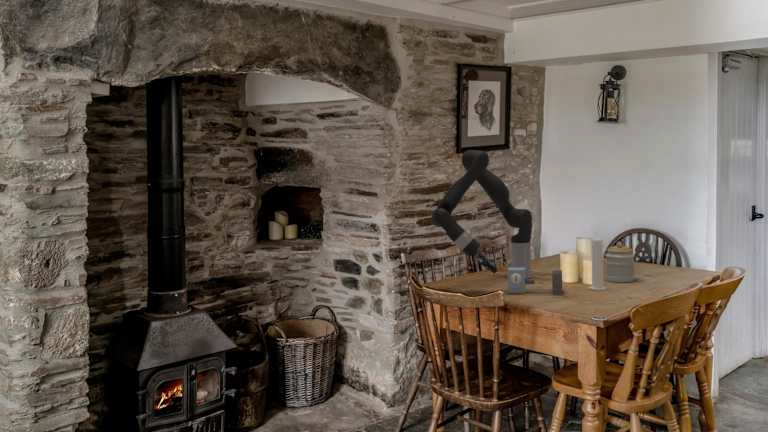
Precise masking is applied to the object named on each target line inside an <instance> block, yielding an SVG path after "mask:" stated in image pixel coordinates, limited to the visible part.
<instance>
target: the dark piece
mask: <svg viewBox="0 0 768 432" xmlns="http://www.w3.org/2000/svg"><path fill="white" fill-rule="evenodd" d="M551 277H552V281H551V282H552V283H551V285H552V287H551V288H552V289H545V288H543V289H542V288H541V289H535V288H534V289H532V288H531V289H529V288H525V289H526V290H525V293H508V288H501V289H500V288H499V290H503V291H504V295H503V296H552V297H553V296H562V297H565V296H566V292H565V289H563V270H562V269H552V272H551ZM499 290H498V291H499Z"/></svg>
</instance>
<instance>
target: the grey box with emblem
mask: <svg viewBox="0 0 768 432" xmlns="http://www.w3.org/2000/svg"><path fill="white" fill-rule="evenodd" d="M526 285H535V278H534V279H530V278H527V279H525V268H512V267H508V269H507V289H508V293H525V290H526V289H527V288H526Z"/></svg>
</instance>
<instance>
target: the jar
mask: <svg viewBox="0 0 768 432" xmlns="http://www.w3.org/2000/svg"><path fill="white" fill-rule="evenodd" d="M606 251H607V252H606V253H605V255H604V256H605V257H606V258H605V259H606V260H605V281H607V282H611V283H632V282H634V281H635V279H636V274H635V272H636V271H635V264H636V262H635V257H636V254H634V253H633V251H634V250H633V248H631V247H630V246H628V245H627V246H626V245H625V246H624V244H623V243H622V242H620V241H619V242H617V243H616V245H613V246H609V248H607V249H606Z"/></svg>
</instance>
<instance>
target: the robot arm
mask: <svg viewBox="0 0 768 432" xmlns="http://www.w3.org/2000/svg"><path fill="white" fill-rule="evenodd" d="M489 162H490V157H489V154H488V153H487V152H485V151H483V150H475V149H468V150H465V151H464V152H463V153H462V155H461V163H462V167H464V169H465V170H466V171H467V172H465V173H464V174H463V176H461V178H459V179H458V180H456V181H455V182H454V183H453V184H452V185H451V186H450V187H449V188H448V189H447V191H446V192H445V194H444V196H443V198H442V200H441V202H440V203H439V205H438V206H437V208H436V209H435V210H434V212H433V213H432V215H431V217H430V219H431V223H432V225H433V227H436V228H442V229H443V230H444V232H445V235H446V236H447V237H448V238H449V239H450V240H451V241H452V242H453V243H454V244H455V245H456V247H457V248H459V250H460V251H461V252H462V253H463V254H465V256H467V257H468V258H470V257H471V256H473V257H474V259H475V260H476V262H477V263H479V264H480V265H481V266H483V267H484V268H487V269H488V270H490V271H491V273H492V274H496V273H497V272H498V268H497V267H496V266H495V265H494V264H493V263H492V260H490V258H489V257H488V256H487V254H486V253H485V252H484V251H481V250H480V249H479V248H481V244H480V243H479V242H478V241H477V240H476V239H475V238H474V236H472V235H471V234H470V233H469V232H468V231H466V230H465V229H464V228H463V226H461V225H459V224H458V222H457V221H456V219H455V218H454V217H453V216H452V213H453V211H454V210H455V209H456V208H457V206H458V205H459V203H460V202H461V201H462V198H463V196H464V195H465V194H466V193H467V191H468V190H469V189H470V187H471V186H472V185H473V184H474V183H475V182H477V183H478V184H479V186H481V188H482V189H483V191H484V192H485V193H486V195H487V196H488V197H489V199H490V200H491V201H492V202H493V203H494V205H495V206H496V208H497V209H498V210H499V211H500V213H501V216H503V218H504V220H505V221H506V223H507V225H508V226H510V227H511V228H516V229H518V232H517V233H516V234H514V235H511V236H510V250H511V251H510V252H511V253H510V254H511V255H510V257H511V261H510V263H511V268H525V279H530V278H532V258H531V257H532V255H531V254H532V252H531V251H532V250H531V245H532V244H531V238H532V234H533V233H532V232H533V230H532V229H533V216H532V213H531V211H530V210H529V209H526V208H516V207H514V206H513V204H512V203H511V202H510V189H509V188H508V187H507V186H506V184H505V182H504V181H503V180H502V179H501V178H500V177H499V176H497V175H496V174H495V173H493V172H491V171H490V170H488V169H487V167H488V166H489Z"/></svg>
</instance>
